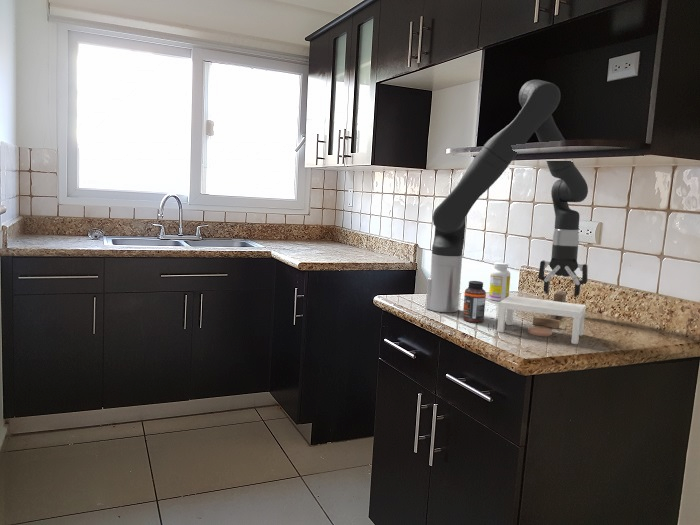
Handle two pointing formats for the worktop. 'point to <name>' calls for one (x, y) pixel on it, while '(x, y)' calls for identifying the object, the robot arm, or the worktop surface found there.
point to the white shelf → (542, 307)
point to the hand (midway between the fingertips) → (561, 295)
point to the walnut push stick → (549, 319)
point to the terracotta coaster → (540, 331)
